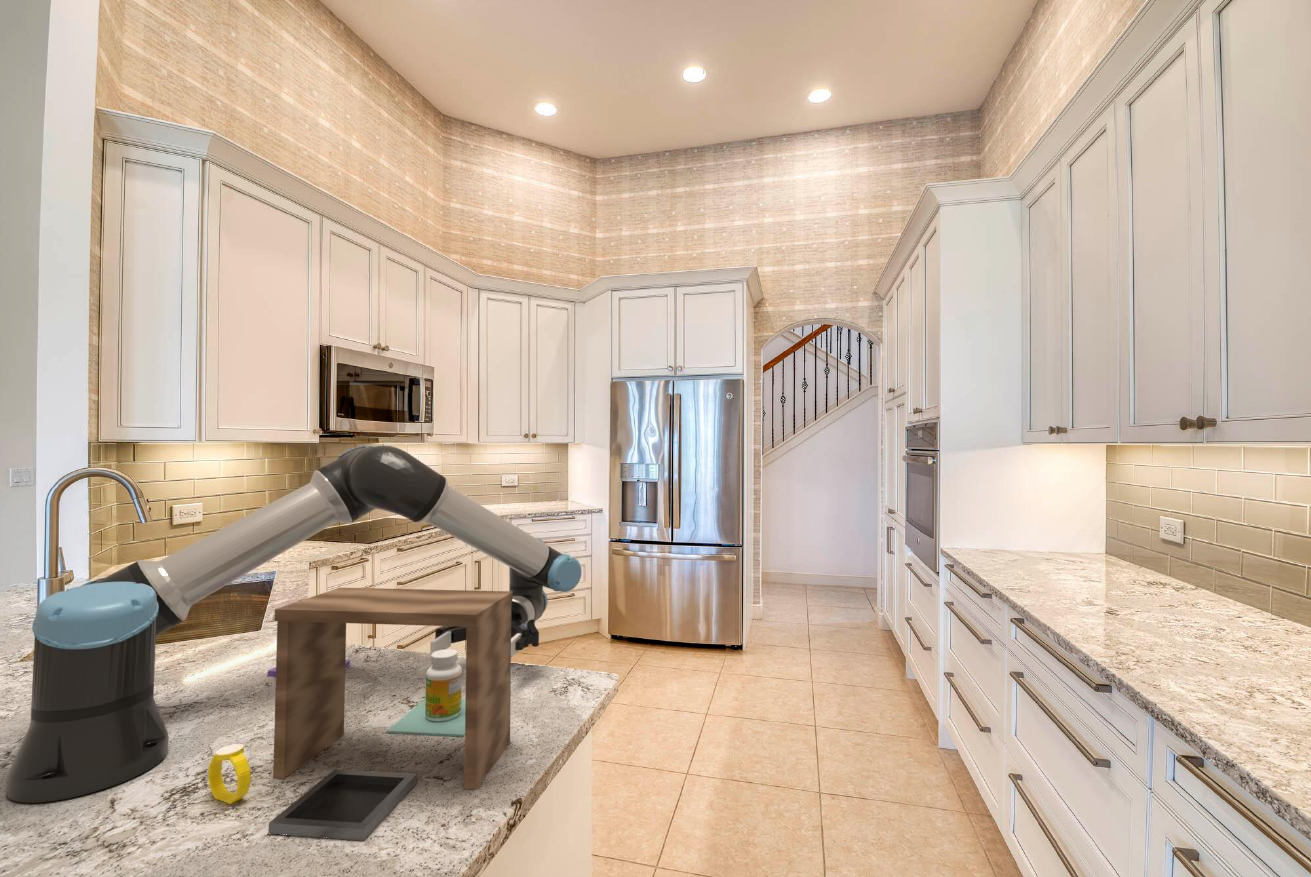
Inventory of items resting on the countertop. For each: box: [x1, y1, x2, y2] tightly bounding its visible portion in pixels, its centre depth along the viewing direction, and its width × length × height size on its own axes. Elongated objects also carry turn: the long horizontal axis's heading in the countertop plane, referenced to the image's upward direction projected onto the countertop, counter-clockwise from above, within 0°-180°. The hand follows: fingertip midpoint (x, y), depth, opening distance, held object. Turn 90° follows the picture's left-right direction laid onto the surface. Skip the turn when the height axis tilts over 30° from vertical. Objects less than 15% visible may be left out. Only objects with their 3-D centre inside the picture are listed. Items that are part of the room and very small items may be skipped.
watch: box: [207, 743, 252, 805], centre depth 69 cm, size 6×3×6 cm, turn 67°
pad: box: [385, 698, 466, 738], centre depth 91 cm, size 12×12×1 cm
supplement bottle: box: [425, 648, 463, 722], centre depth 92 cm, size 5×5×10 cm
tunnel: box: [272, 587, 513, 791], centre depth 79 cm, size 13×27×22 cm, turn 84°
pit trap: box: [267, 769, 418, 842], centre depth 67 cm, size 11×11×1 cm
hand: (469, 651), depth 101 cm, fingers open, 13 cm apart
